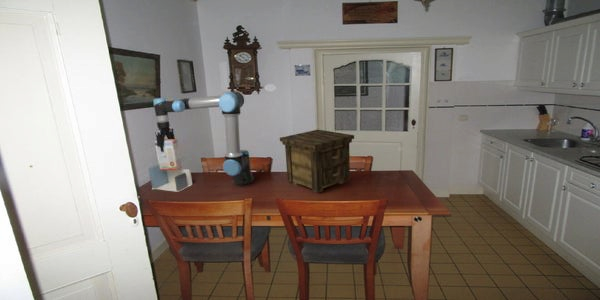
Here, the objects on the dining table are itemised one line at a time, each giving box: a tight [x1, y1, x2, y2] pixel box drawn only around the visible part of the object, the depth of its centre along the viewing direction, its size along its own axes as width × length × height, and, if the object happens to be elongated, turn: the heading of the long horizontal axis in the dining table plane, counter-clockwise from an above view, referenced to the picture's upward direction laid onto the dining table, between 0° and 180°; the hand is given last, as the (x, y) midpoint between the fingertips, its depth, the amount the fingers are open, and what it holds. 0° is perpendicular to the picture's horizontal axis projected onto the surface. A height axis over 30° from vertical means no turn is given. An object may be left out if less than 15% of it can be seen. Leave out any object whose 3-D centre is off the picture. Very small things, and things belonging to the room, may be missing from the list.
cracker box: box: [154, 138, 183, 170], centre depth 210 cm, size 14×6×21 cm, turn 76°
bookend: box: [175, 173, 189, 192], centre depth 209 cm, size 2×9×10 cm, turn 157°
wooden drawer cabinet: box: [279, 129, 355, 194], centre depth 206 cm, size 35×35×33 cm
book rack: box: [148, 163, 193, 192], centre depth 214 cm, size 24×14×16 cm, turn 67°
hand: (168, 154), depth 210 cm, fingers closed on cracker box, 6 cm apart
